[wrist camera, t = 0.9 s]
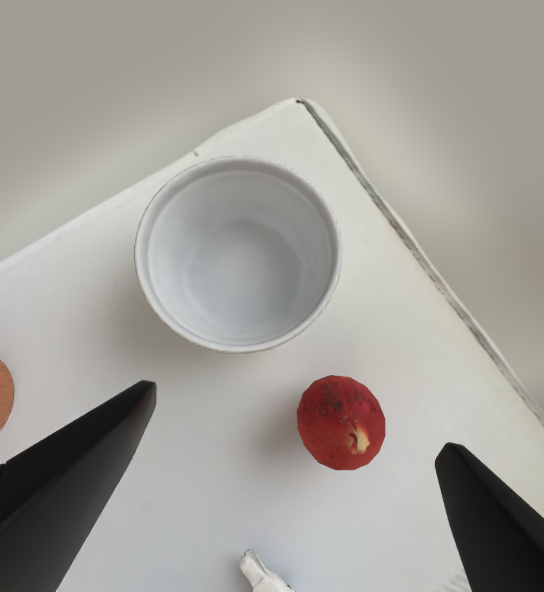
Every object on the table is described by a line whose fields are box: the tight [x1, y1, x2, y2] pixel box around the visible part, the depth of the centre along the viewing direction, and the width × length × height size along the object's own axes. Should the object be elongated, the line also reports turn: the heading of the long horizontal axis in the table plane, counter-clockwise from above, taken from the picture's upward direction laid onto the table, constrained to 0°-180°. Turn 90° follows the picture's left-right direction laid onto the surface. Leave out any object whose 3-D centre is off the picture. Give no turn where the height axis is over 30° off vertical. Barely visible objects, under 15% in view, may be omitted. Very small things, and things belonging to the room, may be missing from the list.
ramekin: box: [134, 156, 342, 354], centre depth 21 cm, size 13×13×7 cm
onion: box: [297, 375, 385, 470], centre depth 19 cm, size 6×6×8 cm
